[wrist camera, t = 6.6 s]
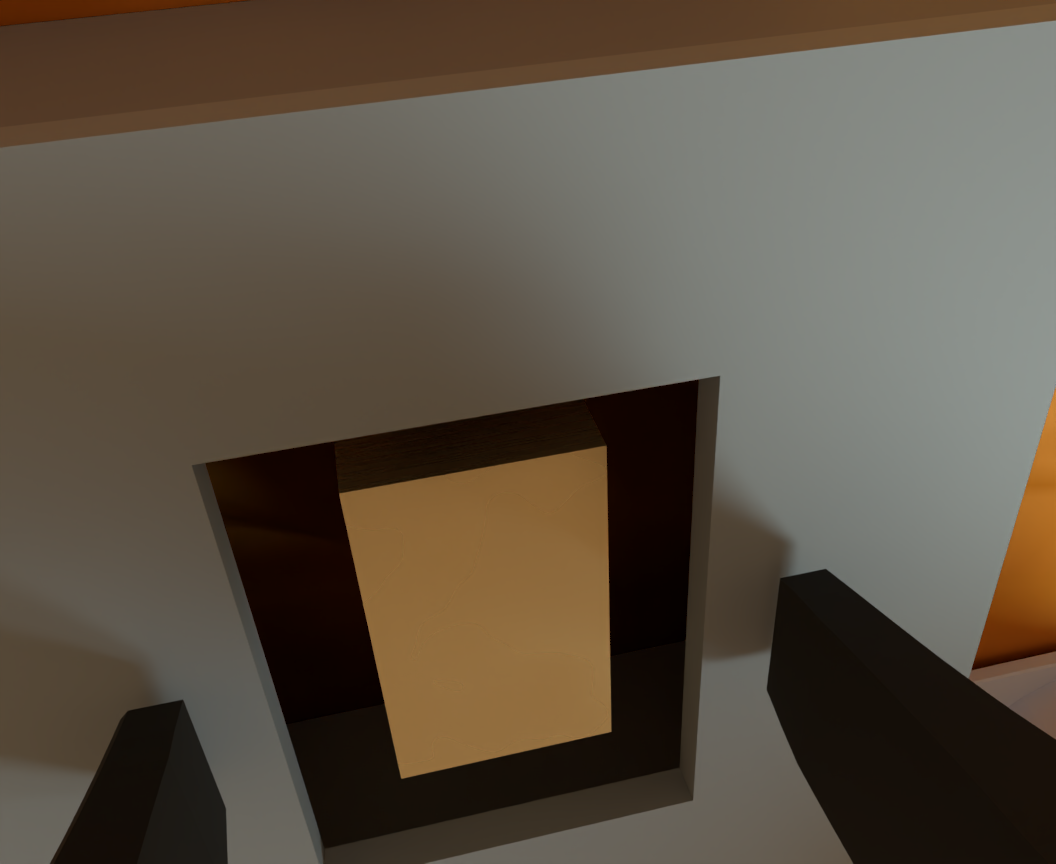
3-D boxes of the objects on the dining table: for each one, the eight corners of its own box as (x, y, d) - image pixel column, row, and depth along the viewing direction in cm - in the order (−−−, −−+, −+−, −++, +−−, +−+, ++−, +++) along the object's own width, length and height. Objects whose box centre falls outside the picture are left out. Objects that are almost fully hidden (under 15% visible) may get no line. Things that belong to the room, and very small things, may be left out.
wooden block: (533, 514, 18) (611, 731, 14) (371, 545, 17) (401, 778, 13) (515, 264, 15) (606, 446, 11) (320, 293, 14) (339, 493, 10)
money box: (787, 644, 21) (915, 857, 17) (128, 785, 19) (88, 1066, 15) (884, -65, 13) (1167, 6, 9) (-224, 49, 11) (-521, 210, 7)
